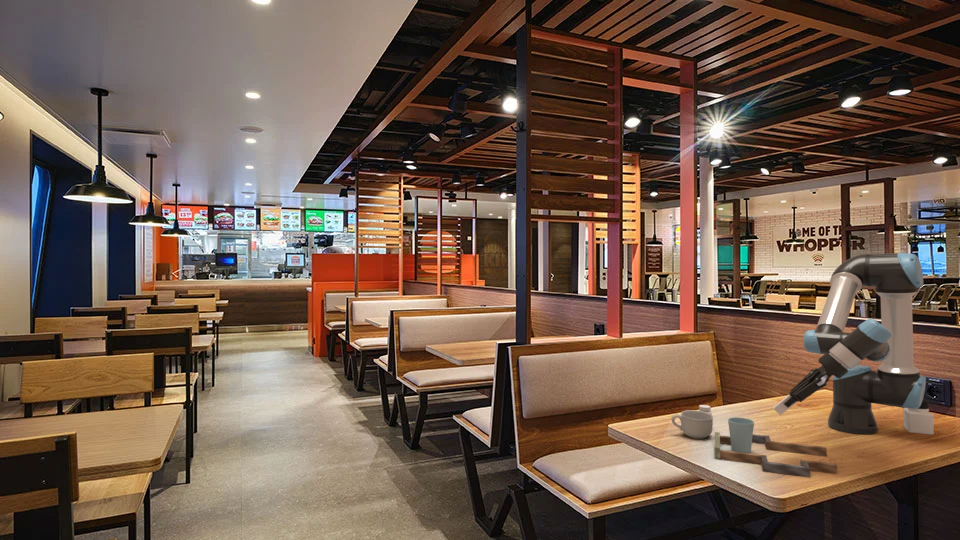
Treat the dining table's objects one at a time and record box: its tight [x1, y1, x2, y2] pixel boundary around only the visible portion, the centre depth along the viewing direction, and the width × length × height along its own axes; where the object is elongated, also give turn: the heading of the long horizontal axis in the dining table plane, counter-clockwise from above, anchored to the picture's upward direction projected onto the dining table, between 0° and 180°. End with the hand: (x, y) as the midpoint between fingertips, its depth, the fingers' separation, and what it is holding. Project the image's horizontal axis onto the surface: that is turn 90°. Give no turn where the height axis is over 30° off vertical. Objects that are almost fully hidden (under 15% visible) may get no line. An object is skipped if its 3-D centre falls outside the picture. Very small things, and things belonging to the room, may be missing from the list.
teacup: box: [671, 409, 714, 440], centre depth 189 cm, size 14×11×8 cm
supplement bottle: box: [698, 404, 713, 416], centre depth 198 cm, size 5×5×8 cm
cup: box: [727, 416, 755, 454], centre depth 172 cm, size 8×8×10 cm
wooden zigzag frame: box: [714, 431, 838, 478], centre depth 168 cm, size 32×28×4 cm
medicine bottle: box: [902, 397, 935, 436], centre depth 191 cm, size 7×7×12 cm
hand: (776, 411), depth 166 cm, fingers closed
